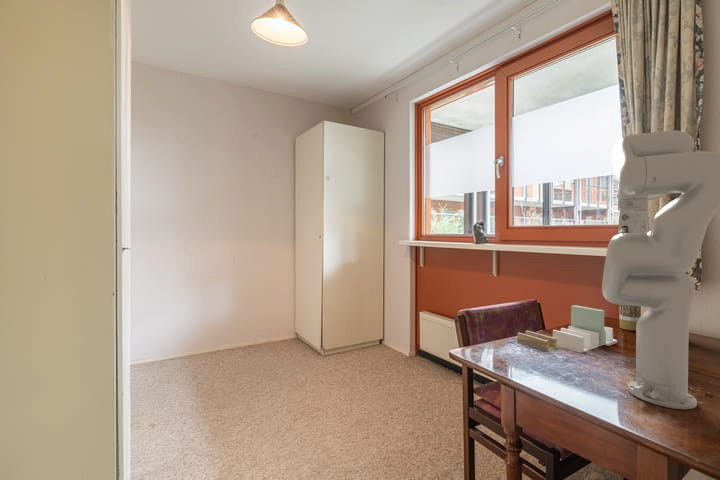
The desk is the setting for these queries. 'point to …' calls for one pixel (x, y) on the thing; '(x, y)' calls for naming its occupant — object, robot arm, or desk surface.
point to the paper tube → (629, 316)
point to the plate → (588, 320)
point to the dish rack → (582, 338)
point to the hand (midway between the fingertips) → (631, 258)
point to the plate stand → (537, 340)
